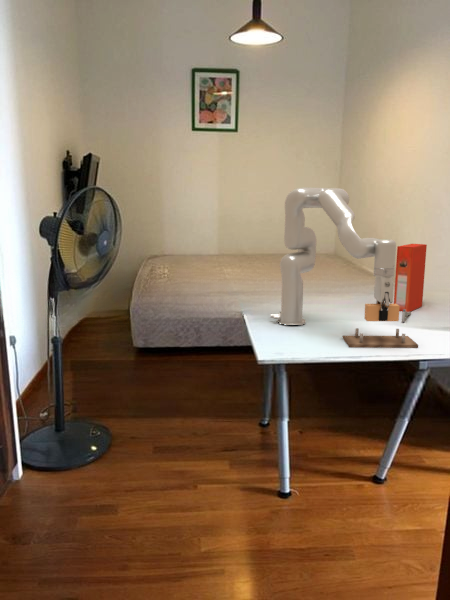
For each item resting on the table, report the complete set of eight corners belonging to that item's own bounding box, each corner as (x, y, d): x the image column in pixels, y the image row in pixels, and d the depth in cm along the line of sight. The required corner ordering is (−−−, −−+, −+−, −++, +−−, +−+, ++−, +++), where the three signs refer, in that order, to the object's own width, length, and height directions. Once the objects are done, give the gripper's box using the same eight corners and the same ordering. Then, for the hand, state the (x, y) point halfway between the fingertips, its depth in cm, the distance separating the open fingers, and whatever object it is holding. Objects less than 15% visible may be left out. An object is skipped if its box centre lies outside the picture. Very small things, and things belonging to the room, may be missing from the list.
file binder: (392, 310, 251) (397, 246, 244) (406, 304, 264) (411, 243, 257) (408, 312, 246) (413, 247, 239) (422, 306, 258) (427, 244, 251)
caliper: (403, 323, 226) (405, 310, 225) (401, 323, 227) (402, 309, 226) (411, 314, 244) (412, 301, 243) (409, 313, 244) (410, 301, 243)
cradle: (349, 347, 191) (349, 335, 190) (342, 338, 203) (343, 327, 202) (418, 347, 190) (419, 335, 189) (407, 338, 202) (408, 327, 201)
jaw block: (398, 321, 192) (399, 305, 191) (366, 321, 193) (367, 305, 191) (395, 318, 196) (396, 303, 195) (364, 318, 197) (365, 303, 195)
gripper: (401, 275, 182) (397, 324, 186) (387, 269, 199) (384, 314, 203) (380, 275, 183) (377, 324, 186) (368, 269, 199) (366, 314, 203)
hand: (381, 318), depth 194 cm, fingers closed on jaw block, 4 cm apart
